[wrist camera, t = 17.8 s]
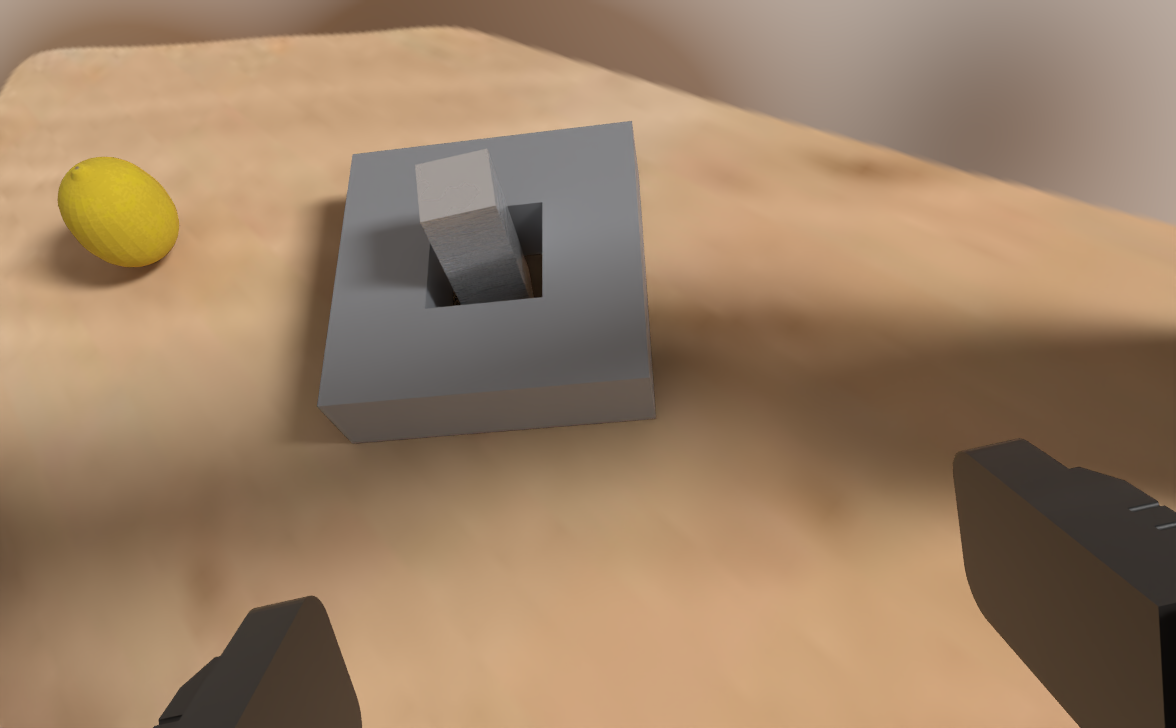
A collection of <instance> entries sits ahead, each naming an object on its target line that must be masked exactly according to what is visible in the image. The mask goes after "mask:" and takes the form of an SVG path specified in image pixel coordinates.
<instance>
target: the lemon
mask: <svg viewBox="0 0 1176 728" xmlns="http://www.w3.org/2000/svg"><path fill="white" fill-rule="evenodd" d="M58 206H59V209H60V212H61V215H62V218H63V220H64V222H65V224H66V226H67V227H68V229H69V230H70V231H71V233H72V234H73V235H74V236H75V238H76V239H77V240H78V241H79V242H80V244H81V245H82V246H83V247H84V248H86V249H87V250H88V251H89V252H91V253H92V254H94V255H95V256H97V257H99V258H101V259H102V260H104V261H106V262H108V263H111V264H114V265H118V266H123V267H142V266H145V265H149V264H152V263H154V262H157V261H158V260H160V259H161V258H163V257H164V256H165V255H166V254H167V253H168V252H169V251H170V250H171V249H172V247H173V246H174V244H175V242H176V239H177V237H178V231H179V219H178V215H177V210H176V208H175V205H174V203H173V201H172V200H171V198H170V197H169V195H168V194H167V192H166V191H165V189H164V188H163V187H162V186H161V184H160V183H159V182H158V181H156V180H155V179H154V178H153V177H152V176H150V175H149V174H148V173H146V172H145V171H144V170H142V169H141V168H139V167H138V166H136V165H134V164H132V163H130V162H128V161H125V160H122V159H118V158H114V157H96V158H90V159H87V160H84V161H82V162H80V163H78V164H76V165H75V166H74V167H72V168H71V169H70V170H69V171H68V172H67V173H66V175H65V176H64V178H63V179H62V182H61V184H60V187H59V191H58Z"/></svg>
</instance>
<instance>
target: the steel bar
mask: <svg viewBox="0 0 1176 728" xmlns="http://www.w3.org/2000/svg"><path fill="white" fill-rule="evenodd" d="M415 170H416V181H417V193H418V204H419V215H420V223H421V225H422V227H423V229H424V231H425V233H426V235H427V237H428V239H429V241H430V243H431V245H432V247H433V249H434V251H435V253H436V255H437V257H438V259H439V261H440V263H441V265H442V267H443V269H444V271H445V273H446V275H447V277H448V279H449V281H450V283H451V285H452V287H453V289H454V292H455V294H456V296H457V298H458V300H459V302H460V304H461V305H468V304H478V303H488V302H498V301H508V300H519V299H529V298H534V296H533V290H532V284H531V278H530V271H529V268H528V265H527V262H526V259H525V256H524V253H523V250H522V248H521V245H520V242H519V239H518V236H517V233H516V230H515V227H514V224H513V221H512V219H511V216H510V213H509V210H508V207H507V204H506V201H505V198H504V195H503V192H502V190H501V187H500V184H499V181H498V178H497V175H496V172H495V169H494V166H493V163H492V161H491V158H490V155H489V152H488V149H483V150H479V151H474V152H470V153H465V154H461V155H457V156H452V157H448V158H443V159H439V160H435V161H430V162H426V163H421V164H417V165H415Z"/></svg>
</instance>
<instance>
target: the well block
mask: <svg viewBox="0 0 1176 728" xmlns="http://www.w3.org/2000/svg"><path fill="white" fill-rule="evenodd" d="M483 149H488V152H489V155H490V158H491V161H492V163H493V166H494V169H495V172H496V175H497V178H498V181H499V184H500V187H501V190H502V192H503V195H504V198H505V201H506V204H507V207H508V210H509V213H510V216H511V219H512V221H513V224H514V227H515V230H516V233H517V236H518V239H519V242H520V245H521V248H522V250H523V253H524V256H525V255H535V254H542V297H539V298H529V299H519V300H508V301H498V302H488V303H478V304H468V305H458V306H453V290H454V289H453V287H452V285H451V283H450V281H449V279H448V277H447V275H446V273H445V271H444V269H443V267H442V265H441V263H440V261H439V259H438V257H437V255H436V253H435V251H434V249H433V247H432V245H431V243H430V241H429V239H428V237H427V235H426V233H425V231H424V229H423V227H422V225H421V223H420V215H419V204H418V193H417V181H416V170H415V165H417V164H421V163H426V162H430V161H435V160H439V159H443V158H448V157H452V156H457V155H461V154H465V153H470V152H474V151H479V150H483ZM317 407H318V408H319V409H320V410H321V411H322V412H323V413H324V414H325V415H326V416H327V418H328V419H329V420H330V421H331V422H332V423H333V424H334V425H335V426H336V427H337V428H338V429H339V430H340V431H341V432H342V433H343V434H344V435H345V436H346V437H347V438H348V439H349V440H350V442H351V443H364V442H376V441H388V440H401V439H413V438H425V437H437V436H450V435H462V434H474V433H486V432H498V431H511V430H523V429H535V428H547V427H560V426H572V425H584V424H596V423H609V422H621V421H633V420H645V419H656V412H655V398H654V383H653V369H652V355H651V341H650V327H649V313H648V299H647V285H646V271H645V257H644V242H643V228H642V214H641V200H640V186H639V174H638V166H637V158H636V150H635V142H634V134H633V127H632V121H628V122H619V123H611V124H603V125H594V126H586V127H578V128H569V129H561V130H553V131H544V132H536V133H528V134H519V135H511V136H502V137H494V138H486V139H477V140H469V141H461V142H452V143H444V144H436V145H427V146H419V147H411V148H402V149H394V150H385V151H377V152H369V153H360V154H353V156H352V163H351V170H350V177H349V184H348V191H347V198H346V205H345V212H344V220H343V227H342V234H341V241H340V248H339V255H338V262H337V269H336V276H335V283H334V290H333V297H332V304H331V311H330V318H329V325H328V332H327V340H326V347H325V354H324V361H323V368H322V375H321V382H320V389H319V396H318V403H317Z"/></svg>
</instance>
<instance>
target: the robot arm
mask: <svg viewBox="0 0 1176 728" xmlns="http://www.w3.org/2000/svg"><path fill="white" fill-rule="evenodd" d="M953 477H954V485H955V493H956V501H957V509H958V518H959V526H960V534H961V542H962V550H963V558H964V566H965V572H966V576H967V580H968V583H969V586H970V589H971V592H972V594H973V597H974V599H975V601H976V603H977V605H978V607H979V609H980V611H981V612H982V614H983V615H984V617H985V618H986V619H987V621H988V622H989V623H990V624H991V625H992V626H993V627H994V629H995V630H996V631H997V632H998V633H999V634H1000V636H1001V637H1002V638H1003V639H1004V640H1005V641H1006V642H1007V644H1008V645H1009V646H1010V647H1011V648H1012V649H1013V650H1014V652H1015V653H1016V654H1017V655H1018V656H1019V657H1020V659H1021V660H1022V661H1023V662H1024V663H1025V664H1026V665H1027V667H1028V668H1029V669H1030V670H1031V671H1032V672H1033V674H1034V675H1035V676H1036V677H1037V678H1038V679H1039V680H1040V682H1041V683H1042V684H1043V685H1044V686H1045V687H1046V689H1047V690H1048V691H1049V692H1050V693H1051V694H1052V695H1053V697H1054V698H1055V699H1056V700H1057V701H1058V702H1059V704H1060V705H1061V706H1062V707H1063V708H1064V709H1065V710H1066V712H1067V713H1068V714H1069V715H1070V716H1071V717H1072V718H1073V720H1074V721H1075V722H1076V723H1077V724H1078V725H1079V727H1080V728H1176V512H1174V511H1173V510H1171V509H1169V508H1168V507H1166V506H1159V504H1158V501H1157V500H1155V499H1153V498H1152V497H1150V496H1149V495H1147V494H1145V493H1144V492H1142V491H1141V490H1139V489H1137V488H1136V487H1134V486H1133V485H1131V484H1129V483H1128V482H1126V481H1125V480H1121V479H1118V478H1115V477H1111V476H1108V475H1104V474H1101V473H1098V472H1094V471H1091V470H1088V469H1084V468H1081V467H1076V468H1071V469H1068V468H1067V467H1065V466H1064V465H1062V464H1061V463H1059V462H1058V461H1056V460H1055V459H1053V458H1052V457H1050V456H1049V455H1047V454H1046V453H1044V452H1043V451H1041V450H1040V449H1038V448H1037V447H1035V446H1034V445H1032V444H1031V443H1029V442H1028V441H1026V440H1024V439H1020V438H1019V439H1014V440H1010V441H1005V442H1001V443H996V444H992V445H987V446H983V447H978V448H974V449H969V450H965V451H960V452H958V453H957V454H956V455H955V458H954V462H953ZM153 728H362V720H361V712H360V707H359V703H358V699H357V696H356V693H355V690H354V688H353V685H352V682H351V679H350V676H349V674H348V671H347V668H346V665H345V662H344V659H343V657H342V654H341V651H340V648H339V645H338V643H337V640H336V637H335V634H334V631H333V629H332V626H331V623H330V620H329V617H328V615H327V612H326V610H325V608H324V606H323V604H322V603H321V601H320V600H319V599H318V598H317V597H315V596H307V597H303V598H298V599H294V600H289V601H285V602H280V603H276V604H271V605H267V606H262V607H258V608H254V609H252V610H251V611H250V612H249V613H248V614H247V616H246V617H245V619H244V621H243V622H242V624H241V625H240V627H239V628H238V630H237V631H236V633H235V634H234V636H233V638H232V639H231V641H230V642H229V644H228V645H227V647H226V648H225V650H224V652H223V653H222V655H221V656H219V657H215V658H214V659H213V660H211V661H210V662H209V663H208V664H207V665H206V666H205V667H203V668H202V669H201V670H200V671H199V672H198V673H197V674H195V675H194V676H193V677H192V678H191V679H190V680H189V681H188V682H186V683H185V684H184V685H183V686H182V687H181V688H180V689H179V690H178V692H177V693H176V695H175V696H174V698H173V699H172V701H171V702H170V704H169V705H168V707H167V708H166V709H165V711H164V712H163V714H162V715H161V717H160V718H159V725H157V726H154V727H153Z"/></svg>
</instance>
